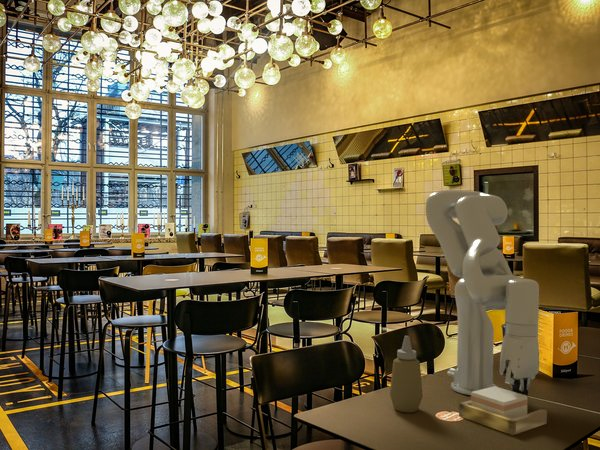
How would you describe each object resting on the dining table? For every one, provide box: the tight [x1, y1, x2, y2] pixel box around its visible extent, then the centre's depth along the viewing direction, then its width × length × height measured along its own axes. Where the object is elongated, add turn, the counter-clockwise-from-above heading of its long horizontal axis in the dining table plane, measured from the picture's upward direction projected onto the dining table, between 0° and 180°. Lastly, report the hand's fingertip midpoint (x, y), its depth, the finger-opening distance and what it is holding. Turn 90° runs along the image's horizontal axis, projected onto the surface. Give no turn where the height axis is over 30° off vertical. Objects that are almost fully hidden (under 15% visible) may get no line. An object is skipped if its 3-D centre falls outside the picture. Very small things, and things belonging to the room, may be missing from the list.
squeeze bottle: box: [389, 335, 423, 413], centre depth 136 cm, size 8×8×18 cm
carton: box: [470, 385, 529, 419], centre depth 131 cm, size 9×9×6 cm
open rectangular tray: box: [458, 399, 548, 436], centre depth 130 cm, size 14×13×3 cm
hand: (519, 405), depth 134 cm, fingers closed
